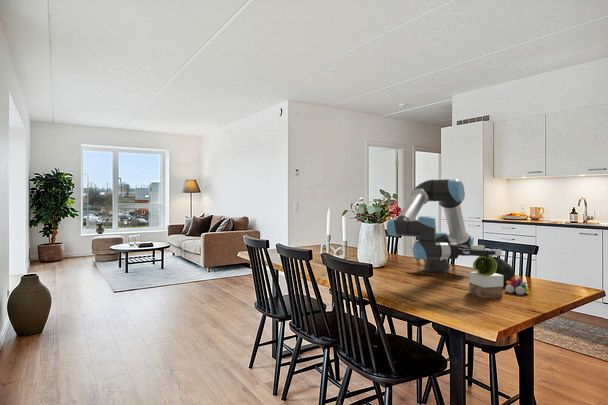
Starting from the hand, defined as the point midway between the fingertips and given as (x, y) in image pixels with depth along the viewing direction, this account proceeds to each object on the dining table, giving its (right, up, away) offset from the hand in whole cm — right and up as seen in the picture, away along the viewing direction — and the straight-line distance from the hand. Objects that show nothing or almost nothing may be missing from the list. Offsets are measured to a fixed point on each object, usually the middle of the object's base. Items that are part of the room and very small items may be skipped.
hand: (492, 250), depth 175 cm
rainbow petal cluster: (+13, -21, +4) cm, 25 cm away
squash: (+14, -20, +23) cm, 33 cm away
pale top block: (-3, -16, 0) cm, 16 cm away
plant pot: (-4, -8, +3) cm, 10 cm away
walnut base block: (-3, -21, 0) cm, 21 cm away
